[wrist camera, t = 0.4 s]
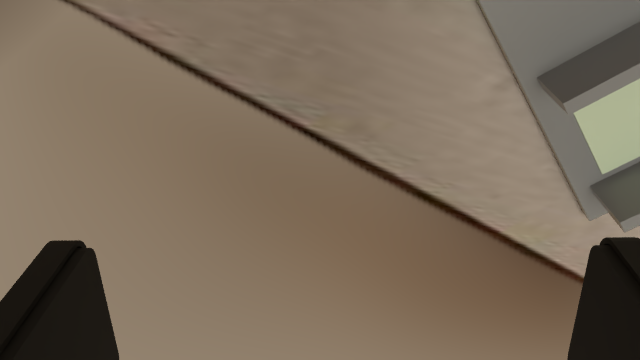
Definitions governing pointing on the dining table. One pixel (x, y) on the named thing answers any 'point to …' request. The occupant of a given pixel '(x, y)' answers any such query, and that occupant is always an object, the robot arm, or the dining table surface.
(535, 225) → the dining table surface
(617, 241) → the robot arm
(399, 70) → the dining table surface
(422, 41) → the dining table surface
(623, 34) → the rack
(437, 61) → the dining table surface
